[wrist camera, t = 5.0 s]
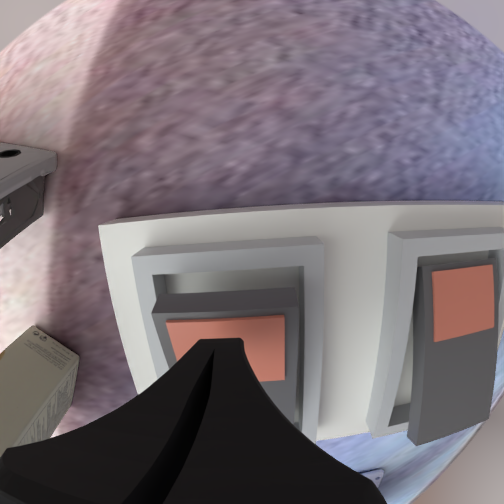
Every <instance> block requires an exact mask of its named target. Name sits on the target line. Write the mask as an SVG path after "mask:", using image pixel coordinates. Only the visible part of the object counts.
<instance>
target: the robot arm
mask: <svg viewBox="0 0 504 504" xmlns="http://www.w3.org/2000/svg"><path fill="white" fill-rule="evenodd" d="M383 475H384V471H383V470H382V469H379V470H375V471H370V472H366V473H361V474H360V473H358V472H356V471H354V470H352V469H351V468H349V467H347V466H346V465H344V464H342V463H341V462H339V461H338V460H336V459H335V458H333V457H332V456H330V455H329V454H328V453H326V452H325V451H323V450H322V449H321V448H319V447H318V446H317V445H316V444H314V443H313V442H312V441H311V440H310V439H309V438H308V437H306V436H305V435H304V434H303V433H302V432H301V431H299V430H298V429H297V428H296V427H295V426H294V425H293V424H292V423H291V422H290V421H289V420H288V419H287V418H286V417H285V416H284V414H283V413H282V412H281V411H280V410H279V409H278V407H277V406H276V405H275V404H274V403H273V401H272V400H271V399H270V397H269V396H268V394H267V393H266V392H265V390H264V389H263V387H262V385H261V384H260V382H259V381H258V379H257V377H256V375H255V373H254V371H253V370H252V368H251V366H250V363H249V361H248V359H247V356H246V353H245V349H244V341H243V340H242V339H241V338H216V339H199V340H198V341H197V342H196V343H195V344H194V345H193V346H192V347H191V348H190V349H189V350H188V351H187V352H186V353H185V354H184V355H183V356H182V357H181V358H180V359H179V360H178V361H177V362H176V363H175V364H174V365H173V366H172V367H171V368H170V369H169V370H168V371H167V372H166V373H165V374H163V375H162V376H161V377H160V378H159V379H157V380H156V381H155V382H154V383H153V384H152V385H150V386H149V387H148V388H147V389H146V390H144V391H143V392H142V393H140V394H139V395H137V396H136V397H135V398H133V399H132V400H130V401H129V402H127V403H126V404H124V405H122V406H121V407H119V408H118V409H116V410H114V411H112V412H111V413H109V414H107V415H105V416H103V417H101V418H99V419H97V420H95V421H93V422H91V423H89V424H87V425H85V426H83V427H80V428H78V429H75V430H73V431H70V432H68V433H65V434H62V435H59V436H56V437H53V438H50V439H46V440H43V441H39V442H34V443H30V444H26V445H21V446H16V447H10V448H7V449H6V450H5V451H4V453H3V454H2V456H1V457H0V504H387V503H386V501H385V499H384V497H383V496H382V494H381V493H380V491H379V490H378V487H379V484H380V482H381V480H382V477H383Z"/></svg>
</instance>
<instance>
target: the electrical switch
mask: <svg viewBox="0 0 504 504" xmlns="http://www.w3.org/2000/svg"><path fill="white" fill-rule="evenodd" d="M56 168H57V154H56V153H55V152H53V151H49V150H43V149H38V148H32V147H26V146H20V145H14V144H8V143H2V142H0V216H1V215H2V217H4V218H3V219H2V220H1V221H0V249H1V248H2V247H3V246H4V245H5V244H6V243H8V242H9V241H10V240H11V239H13V238H14V237H15V236H16V235H18V234H19V233H20V232H21V231H23V230H24V229H25V228H26V227H28V226H29V225H30V224H32V223H33V222H34V221H36V220H37V219H38V218H40V217H41V216H42V215H43V192H44V176H45V175H47V174H49V173H51V172H54V171H56ZM10 209H11V215H10V212H9V210H10Z"/></svg>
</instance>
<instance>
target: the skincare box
mask: <svg viewBox="0 0 504 504" xmlns="http://www.w3.org/2000/svg"><path fill="white" fill-rule="evenodd" d="M78 364H79V356H78V355H77V354H75V353H74V352H72V351H70V350H69V349H67V348H66V347H64V346H63V345H61V344H60V343H59V342H57V341H56V340H54V339H53V338H51V337H50V336H48V335H47V334H45V333H44V332H42V331H41V330H39V329H38V328H36V327H35V326H31V327H30V328H29V329H28V330H26V331H25V332H24V333H23V334H22V335H21V336H19V337H18V338H17V339H16V340H15V341H14V342H13V343H11V344H10V345H9V346H8V347H7V348H6V349H5V350H4V351H3V352H2V353H1V354H0V457H1V456H2V454H3V453H4V451H5V450H6V449H7V448H10V447H16V446H21V445H26V444H30V443H34V442H39V441H43V440H46V439H50V437H51V435H52V434H53V432H54V431H55V429H56V428H57V426H58V425H59V423H60V421H61V420H62V418H63V417H64V415H65V414H66V412H67V411H68V409H69V408H70V406H71V402H72V398H73V393H74V387H75V382H76V376H77V370H78Z"/></svg>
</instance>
